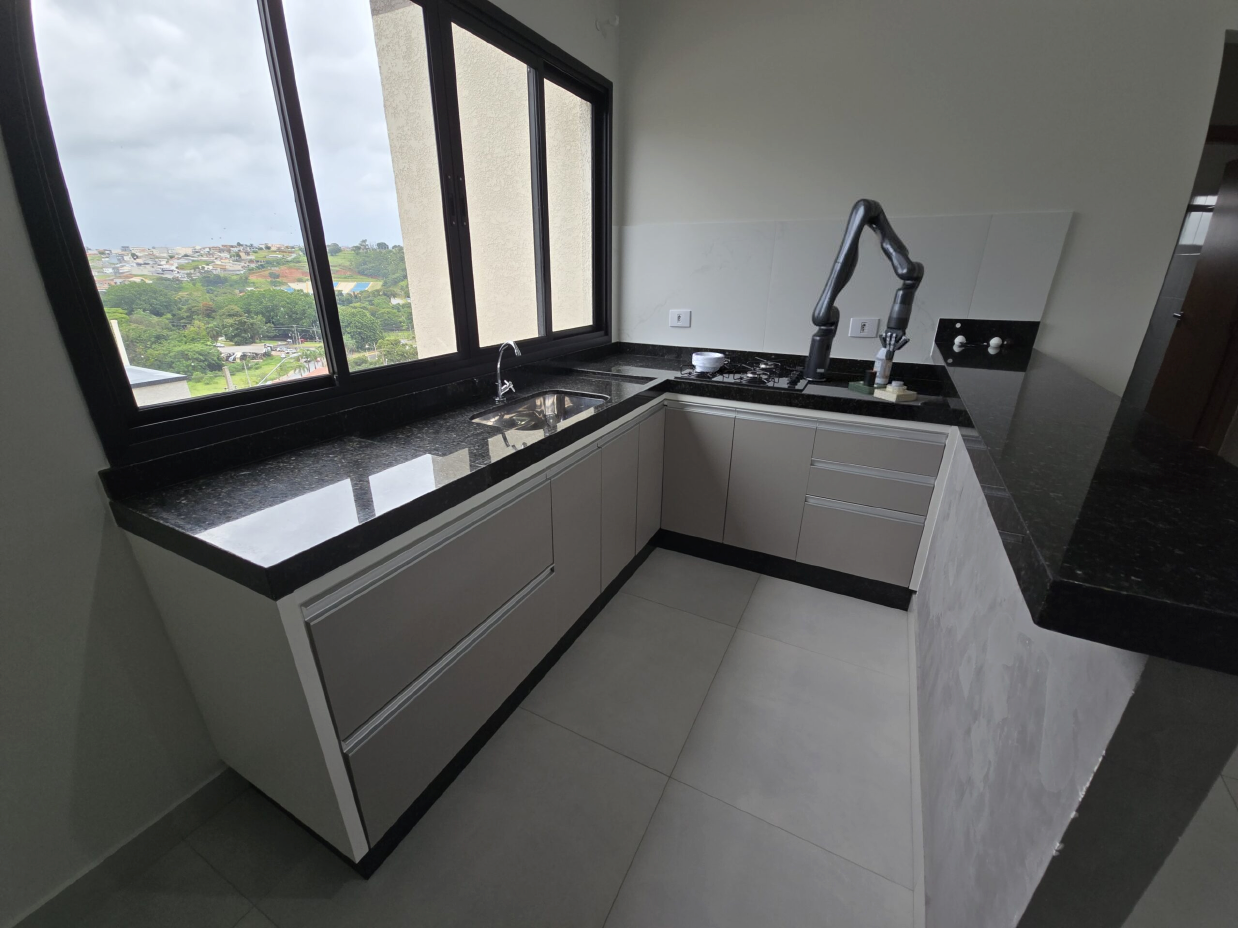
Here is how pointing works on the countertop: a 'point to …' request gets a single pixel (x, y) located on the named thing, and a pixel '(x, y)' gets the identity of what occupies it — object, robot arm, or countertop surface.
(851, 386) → the tap panel
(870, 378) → the dark brown cylinder
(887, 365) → the bath foam
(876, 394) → the cream push button box
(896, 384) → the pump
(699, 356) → the paper bowls
